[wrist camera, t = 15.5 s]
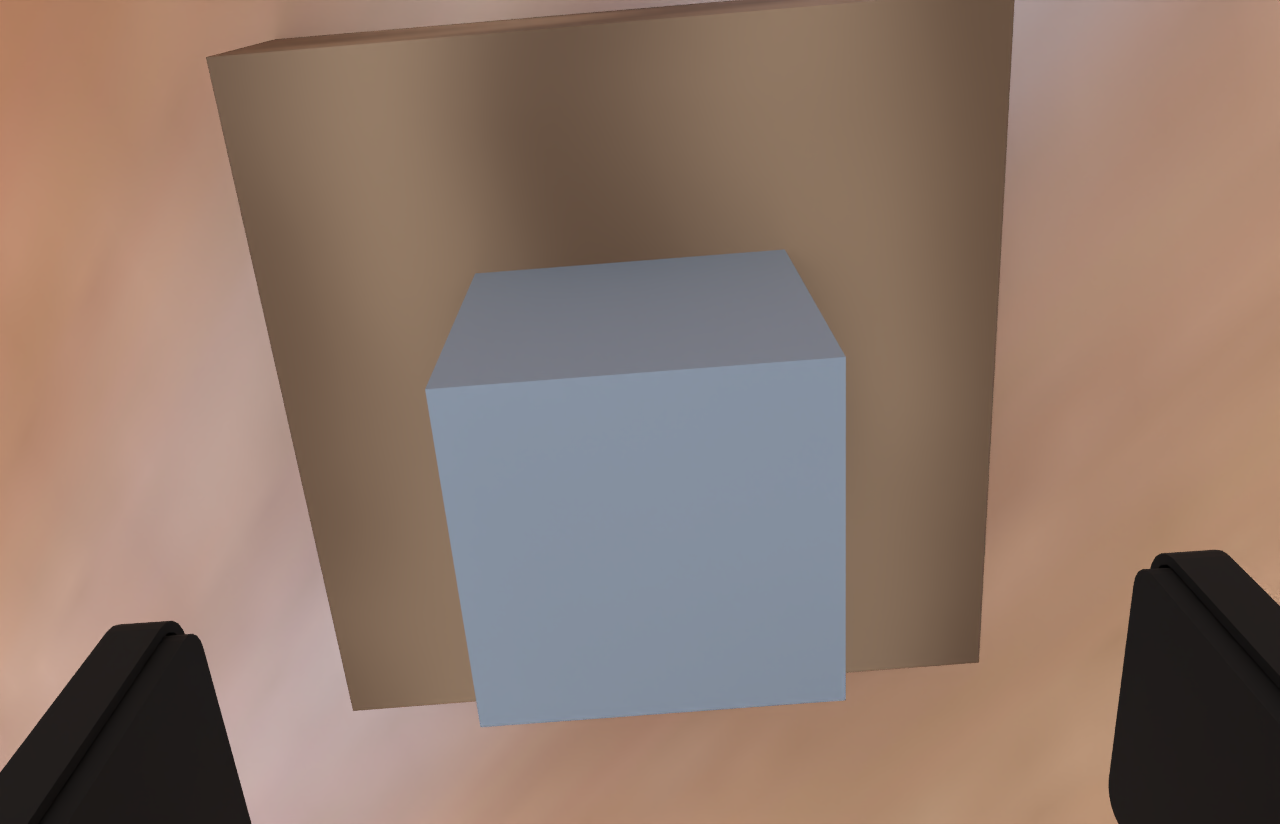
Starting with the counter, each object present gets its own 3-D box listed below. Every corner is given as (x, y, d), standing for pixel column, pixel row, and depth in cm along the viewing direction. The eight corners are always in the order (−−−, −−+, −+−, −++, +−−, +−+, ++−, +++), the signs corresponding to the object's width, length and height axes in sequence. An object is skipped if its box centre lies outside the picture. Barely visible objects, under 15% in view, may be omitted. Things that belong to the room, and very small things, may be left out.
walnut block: (939, -19, 20) (1014, -11, 16) (923, 554, 24) (978, 662, 21) (282, 37, 20) (206, 57, 16) (392, 596, 24) (353, 710, 21)
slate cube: (784, 249, 17) (846, 357, 13) (790, 522, 19) (845, 700, 15) (474, 273, 17) (425, 389, 13) (512, 543, 19) (480, 726, 15)
